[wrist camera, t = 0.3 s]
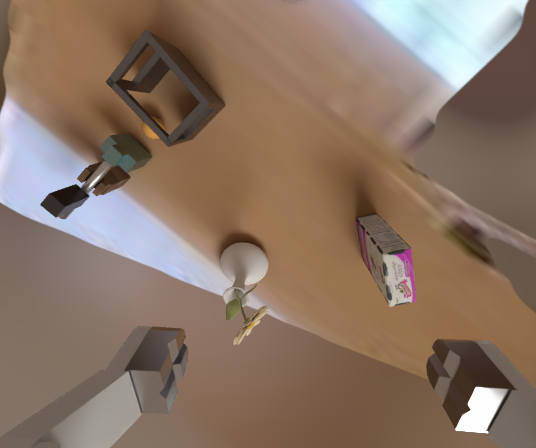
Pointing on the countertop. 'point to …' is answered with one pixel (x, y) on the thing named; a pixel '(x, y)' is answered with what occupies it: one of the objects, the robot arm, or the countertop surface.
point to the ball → (149, 132)
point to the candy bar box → (387, 260)
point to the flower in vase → (243, 281)
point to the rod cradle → (105, 179)
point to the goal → (151, 76)
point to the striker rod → (98, 174)
